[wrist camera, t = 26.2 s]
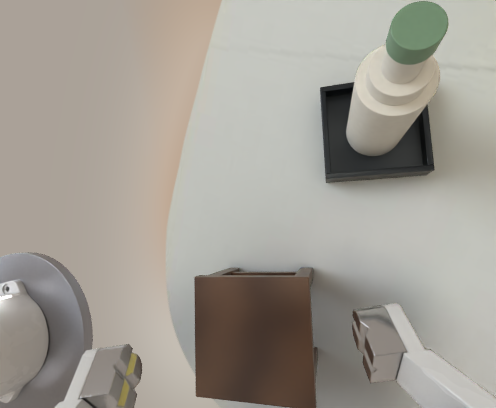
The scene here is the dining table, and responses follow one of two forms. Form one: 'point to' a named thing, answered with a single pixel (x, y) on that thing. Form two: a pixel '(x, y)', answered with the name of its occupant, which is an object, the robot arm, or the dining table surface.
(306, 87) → the dining table surface
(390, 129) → the bottle
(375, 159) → the black square tray
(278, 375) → the brown wooden stool
